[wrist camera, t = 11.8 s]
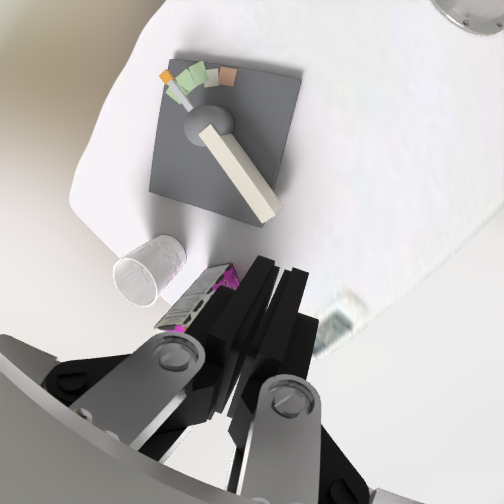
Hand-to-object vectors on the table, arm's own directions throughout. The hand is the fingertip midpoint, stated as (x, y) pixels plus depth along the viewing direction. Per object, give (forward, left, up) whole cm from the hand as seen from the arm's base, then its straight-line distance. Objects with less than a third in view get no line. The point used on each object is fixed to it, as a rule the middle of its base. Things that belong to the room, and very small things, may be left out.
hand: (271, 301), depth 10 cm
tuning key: (0, -13, -30) cm, 32 cm away
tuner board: (+1, -15, -31) cm, 35 cm away
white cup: (+21, -20, -31) cm, 43 cm away
